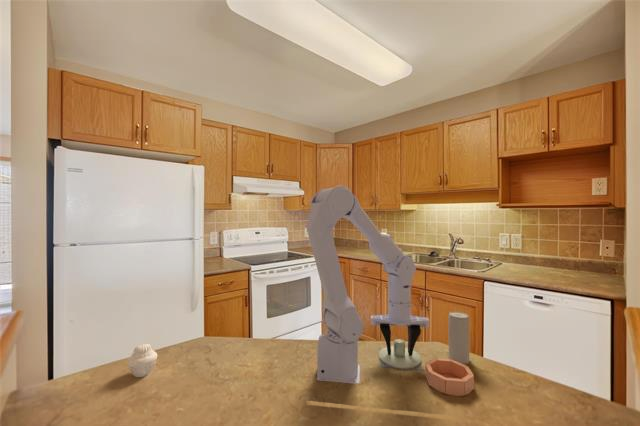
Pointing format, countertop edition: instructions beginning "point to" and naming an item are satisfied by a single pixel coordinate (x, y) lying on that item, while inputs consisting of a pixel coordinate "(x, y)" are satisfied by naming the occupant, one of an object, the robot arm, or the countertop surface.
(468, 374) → the bowl
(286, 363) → the countertop surface
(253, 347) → the countertop surface
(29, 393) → the countertop surface
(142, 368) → the muffin
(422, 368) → the mat
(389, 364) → the lid
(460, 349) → the beverage can
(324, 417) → the countertop surface
